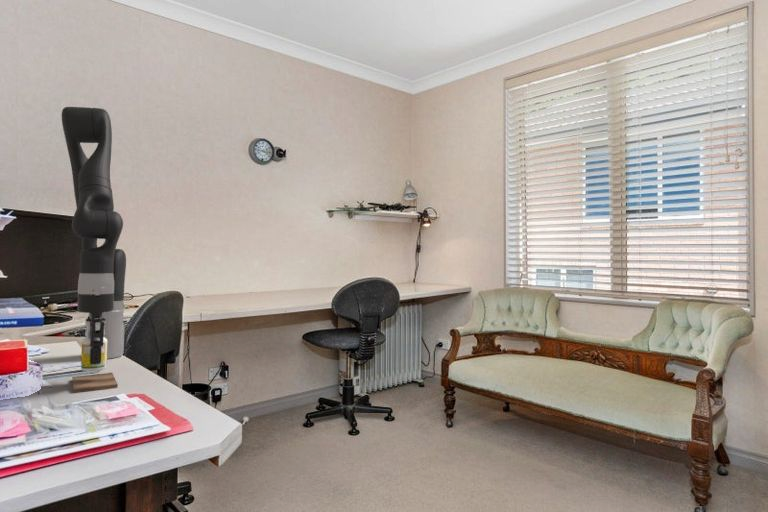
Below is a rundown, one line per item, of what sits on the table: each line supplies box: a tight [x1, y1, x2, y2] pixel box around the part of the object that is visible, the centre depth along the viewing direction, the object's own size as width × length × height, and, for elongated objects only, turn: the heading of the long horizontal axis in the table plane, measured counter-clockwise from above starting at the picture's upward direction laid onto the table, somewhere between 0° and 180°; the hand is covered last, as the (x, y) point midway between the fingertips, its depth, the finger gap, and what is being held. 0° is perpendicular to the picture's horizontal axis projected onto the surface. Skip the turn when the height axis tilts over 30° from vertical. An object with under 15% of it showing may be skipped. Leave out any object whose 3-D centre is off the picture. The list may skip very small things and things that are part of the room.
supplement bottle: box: [80, 329, 108, 373], centre depth 113 cm, size 5×5×10 cm
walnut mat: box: [71, 372, 118, 394], centre depth 113 cm, size 13×9×1 cm, turn 35°
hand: (94, 361), depth 113 cm, fingers closed on supplement bottle, 5 cm apart
